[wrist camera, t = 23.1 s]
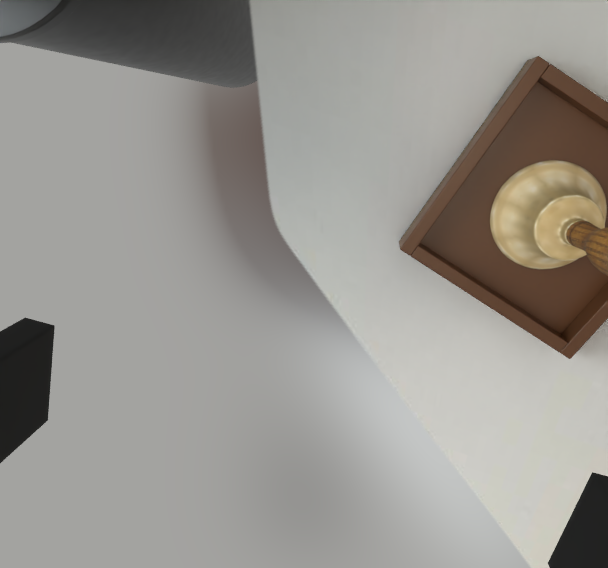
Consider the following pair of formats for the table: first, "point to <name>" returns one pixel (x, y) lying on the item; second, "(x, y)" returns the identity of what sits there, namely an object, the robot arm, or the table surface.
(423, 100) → the table surface
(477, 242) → the tray
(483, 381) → the table surface
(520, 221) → the hand bell
